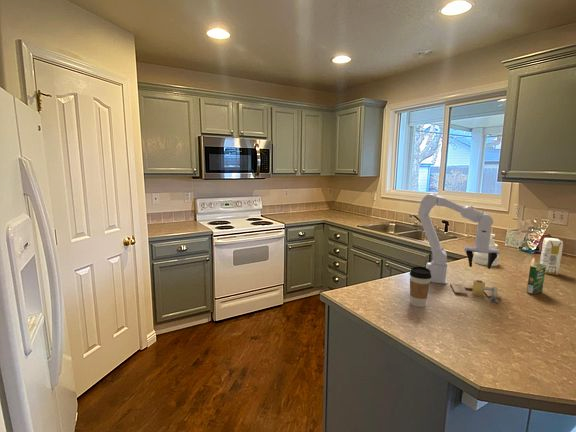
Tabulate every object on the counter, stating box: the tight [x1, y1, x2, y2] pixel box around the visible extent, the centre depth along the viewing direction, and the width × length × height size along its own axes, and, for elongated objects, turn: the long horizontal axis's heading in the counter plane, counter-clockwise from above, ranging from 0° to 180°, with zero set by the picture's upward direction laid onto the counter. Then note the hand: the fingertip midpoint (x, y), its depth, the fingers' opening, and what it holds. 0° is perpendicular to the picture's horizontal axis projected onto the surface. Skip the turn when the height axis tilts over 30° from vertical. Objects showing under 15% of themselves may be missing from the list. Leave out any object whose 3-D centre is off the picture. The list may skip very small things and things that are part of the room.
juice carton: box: [539, 237, 564, 276], centre depth 177 cm, size 8×9×19 cm
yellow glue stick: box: [471, 279, 486, 297], centre depth 143 cm, size 4×4×6 cm
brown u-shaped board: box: [450, 282, 502, 301], centre depth 146 cm, size 18×12×1 cm, turn 73°
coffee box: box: [526, 263, 546, 295], centre depth 146 cm, size 8×3×13 cm, turn 115°
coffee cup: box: [409, 266, 432, 308], centre depth 131 cm, size 8×8×15 cm
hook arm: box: [481, 286, 500, 304], centre depth 137 cm, size 7×3×6 cm, turn 73°
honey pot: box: [472, 233, 500, 267], centre depth 193 cm, size 13×13×18 cm
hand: (479, 267), depth 151 cm, fingers open, 7 cm apart
